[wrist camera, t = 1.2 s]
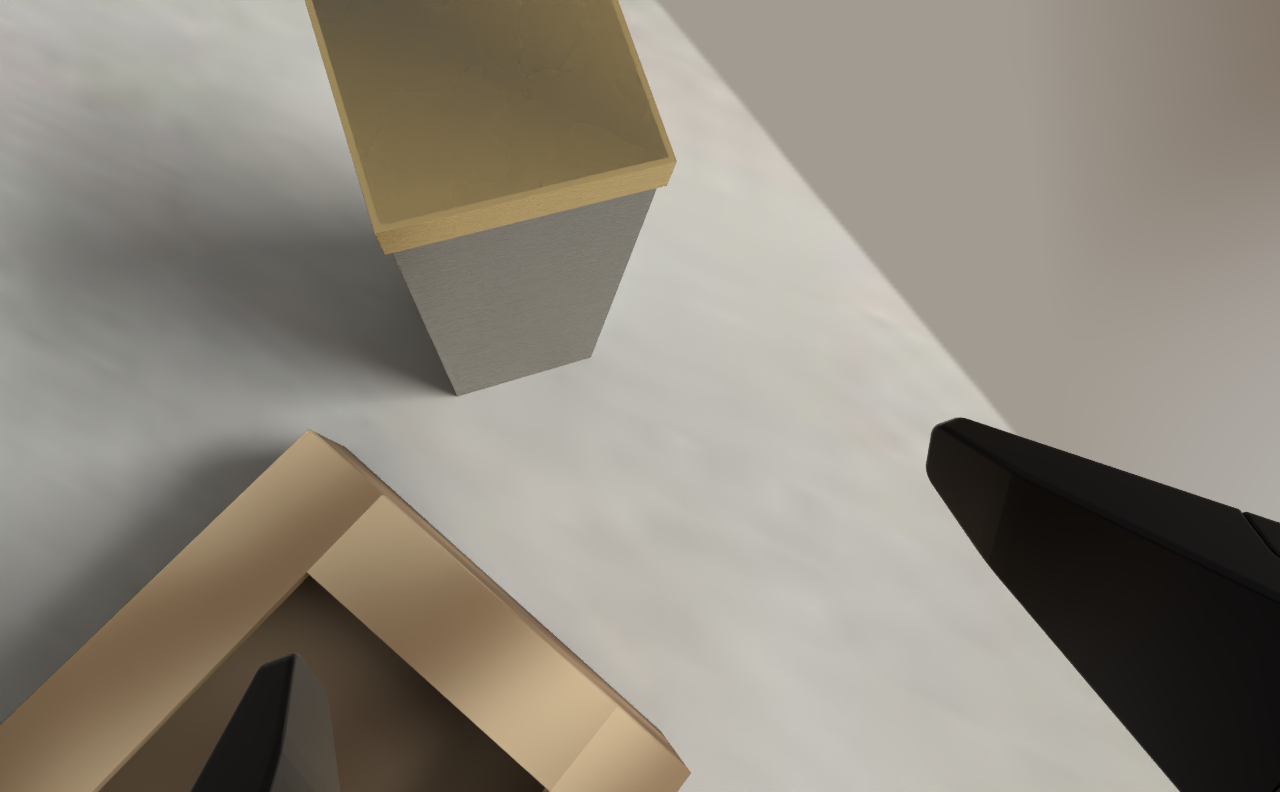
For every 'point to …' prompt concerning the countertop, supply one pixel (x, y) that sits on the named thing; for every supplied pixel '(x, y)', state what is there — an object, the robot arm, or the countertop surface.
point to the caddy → (333, 659)
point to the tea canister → (499, 166)
